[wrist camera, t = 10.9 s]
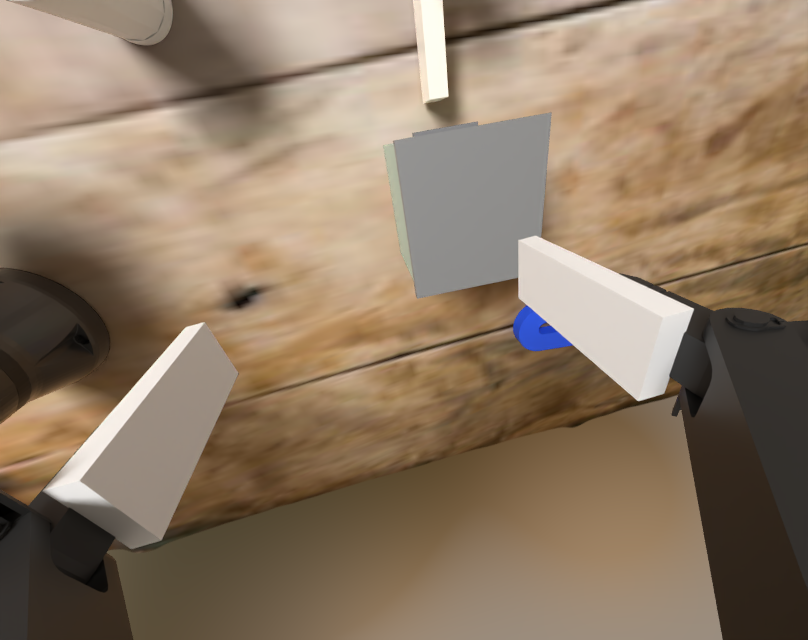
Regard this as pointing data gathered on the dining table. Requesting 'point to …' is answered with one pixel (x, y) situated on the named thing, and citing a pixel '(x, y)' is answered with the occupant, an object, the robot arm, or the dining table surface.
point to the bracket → (536, 332)
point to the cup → (114, 16)
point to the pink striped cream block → (431, 49)
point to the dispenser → (468, 200)
